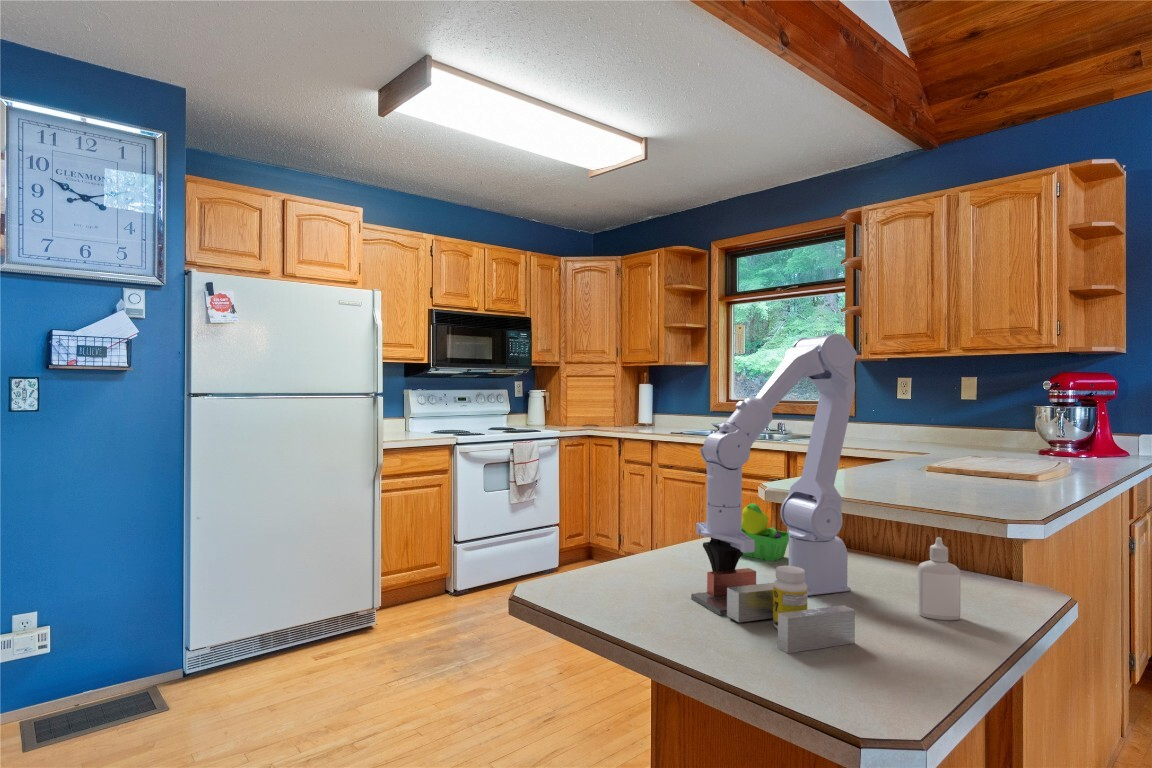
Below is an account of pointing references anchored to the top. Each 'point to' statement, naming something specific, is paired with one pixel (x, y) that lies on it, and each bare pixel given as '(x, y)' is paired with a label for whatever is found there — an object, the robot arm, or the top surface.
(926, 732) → the top surface
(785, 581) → the supplement bottle
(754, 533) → the fruit basket
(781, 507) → the robot arm
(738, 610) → the sliding jaw
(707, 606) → the base
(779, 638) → the bar
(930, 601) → the eye dropper bottle
